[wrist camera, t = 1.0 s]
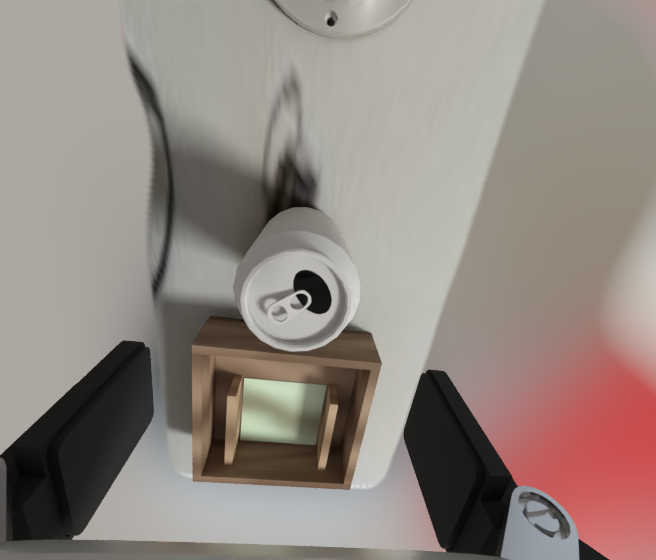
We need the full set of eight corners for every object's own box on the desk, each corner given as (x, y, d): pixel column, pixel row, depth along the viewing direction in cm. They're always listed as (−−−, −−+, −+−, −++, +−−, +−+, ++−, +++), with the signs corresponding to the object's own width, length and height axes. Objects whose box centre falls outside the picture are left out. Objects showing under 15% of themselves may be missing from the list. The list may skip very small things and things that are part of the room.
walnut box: (210, 316, 30) (191, 345, 25) (371, 333, 31) (381, 363, 27) (208, 439, 35) (192, 481, 31) (344, 448, 37) (349, 489, 32)
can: (357, 263, 29) (387, 328, 17) (287, 298, 30) (273, 382, 18) (319, 189, 26) (324, 210, 15) (244, 231, 27) (196, 280, 16)
